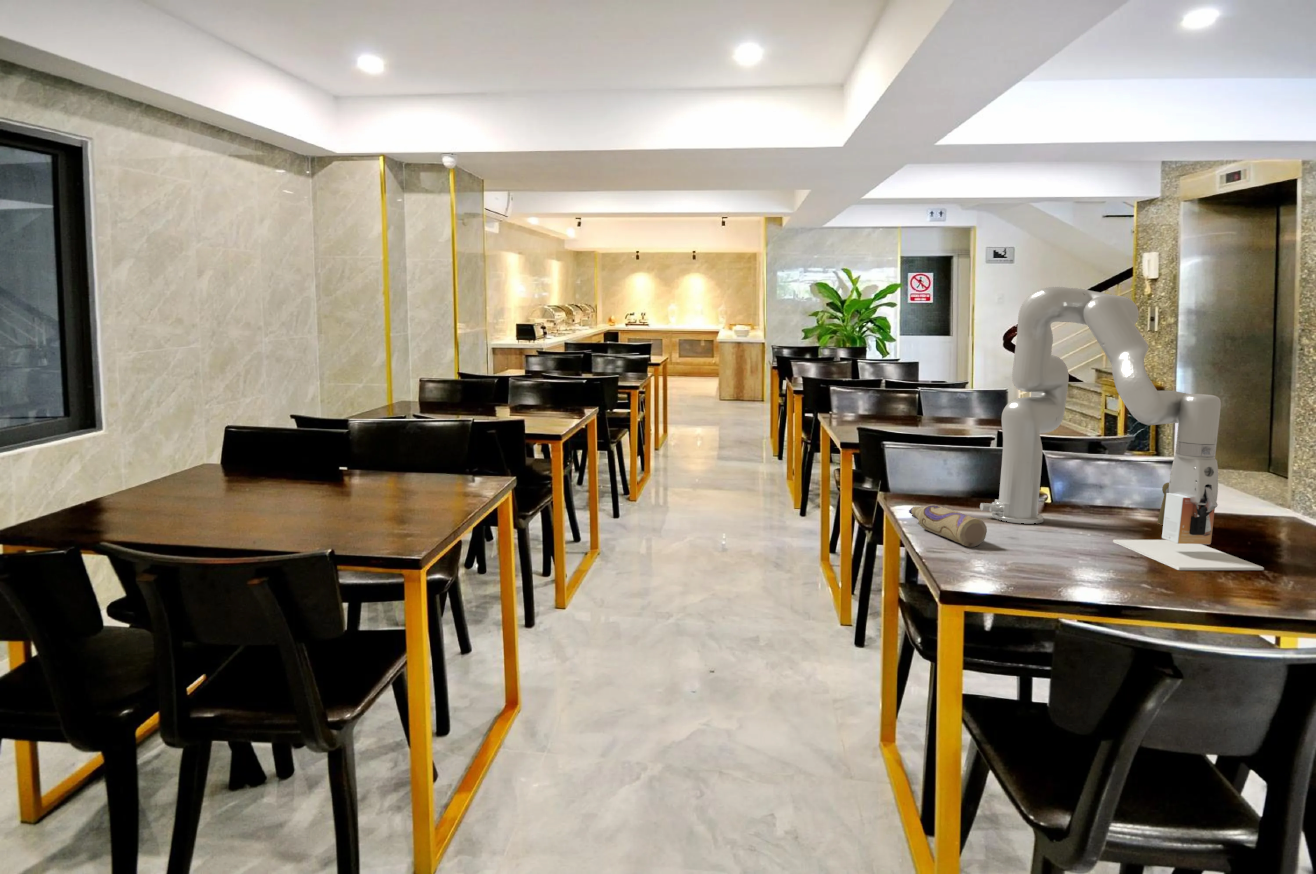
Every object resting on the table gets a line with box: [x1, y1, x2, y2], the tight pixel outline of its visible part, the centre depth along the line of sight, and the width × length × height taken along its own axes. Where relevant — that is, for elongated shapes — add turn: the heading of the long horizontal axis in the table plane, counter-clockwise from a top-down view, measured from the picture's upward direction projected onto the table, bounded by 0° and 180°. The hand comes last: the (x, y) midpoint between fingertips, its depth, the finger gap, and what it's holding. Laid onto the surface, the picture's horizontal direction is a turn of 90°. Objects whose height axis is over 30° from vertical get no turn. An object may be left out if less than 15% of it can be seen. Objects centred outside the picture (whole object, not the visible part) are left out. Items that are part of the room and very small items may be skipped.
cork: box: [1156, 482, 1169, 525], centre depth 226 cm, size 6×6×11 cm
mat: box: [1112, 539, 1265, 571], centre depth 196 cm, size 19×23×1 cm
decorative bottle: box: [908, 504, 988, 548], centre depth 211 cm, size 26×8×7 cm, turn 16°
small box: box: [1161, 493, 1216, 545], centre depth 195 cm, size 8×6×10 cm
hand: (1187, 530), depth 196 cm, fingers closed on small box, 5 cm apart
